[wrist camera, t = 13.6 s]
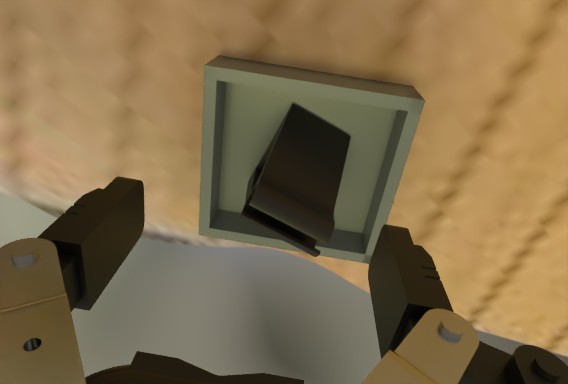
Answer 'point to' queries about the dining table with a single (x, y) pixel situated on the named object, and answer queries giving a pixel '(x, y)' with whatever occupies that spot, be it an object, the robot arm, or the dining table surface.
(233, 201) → the tray
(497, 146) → the dining table surface
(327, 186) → the phone stand
